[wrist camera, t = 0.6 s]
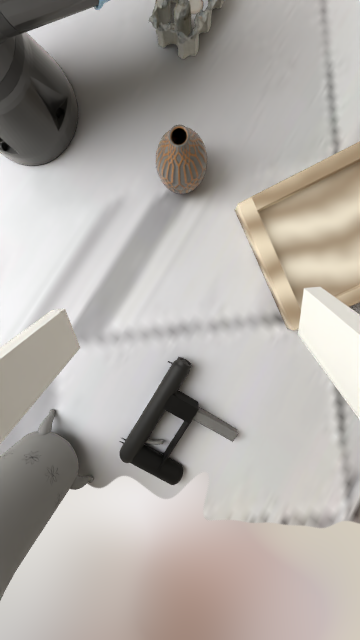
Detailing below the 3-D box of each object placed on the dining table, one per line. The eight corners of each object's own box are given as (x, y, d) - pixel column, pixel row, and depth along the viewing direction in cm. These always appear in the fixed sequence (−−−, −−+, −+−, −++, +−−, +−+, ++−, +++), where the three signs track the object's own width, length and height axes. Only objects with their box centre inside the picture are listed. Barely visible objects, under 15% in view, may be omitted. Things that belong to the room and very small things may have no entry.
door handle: (259, 407, 35) (170, 355, 34) (193, 504, 37) (108, 458, 36) (253, 397, 38) (171, 349, 37) (192, 486, 40) (114, 444, 40)
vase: (152, 166, 34) (138, 122, 26) (193, 144, 34) (193, 90, 25) (172, 208, 35) (165, 178, 26) (213, 187, 34) (219, 148, 25)
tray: (234, 210, 34) (238, 203, 32) (363, 144, 32) (378, 132, 30) (287, 328, 35) (294, 330, 33) (414, 272, 33) (432, 270, 31)
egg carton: (188, -31, 32) (188, -80, 28) (232, -2, 32) (238, -46, 28) (147, 40, 33) (141, 4, 29) (190, 69, 33) (189, 37, 29)
